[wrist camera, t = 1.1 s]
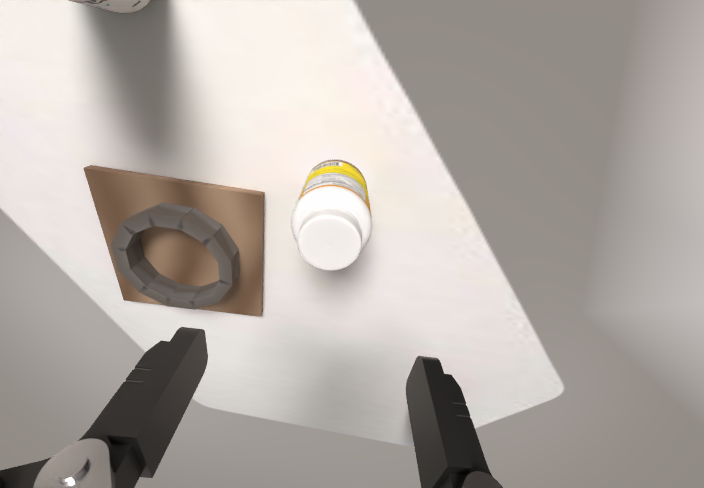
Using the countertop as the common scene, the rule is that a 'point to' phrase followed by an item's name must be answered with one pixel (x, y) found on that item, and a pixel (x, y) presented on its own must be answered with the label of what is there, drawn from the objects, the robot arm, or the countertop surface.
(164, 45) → the countertop surface
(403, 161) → the countertop surface
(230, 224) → the cup collar board
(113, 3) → the energy drink can
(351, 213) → the supplement bottle
